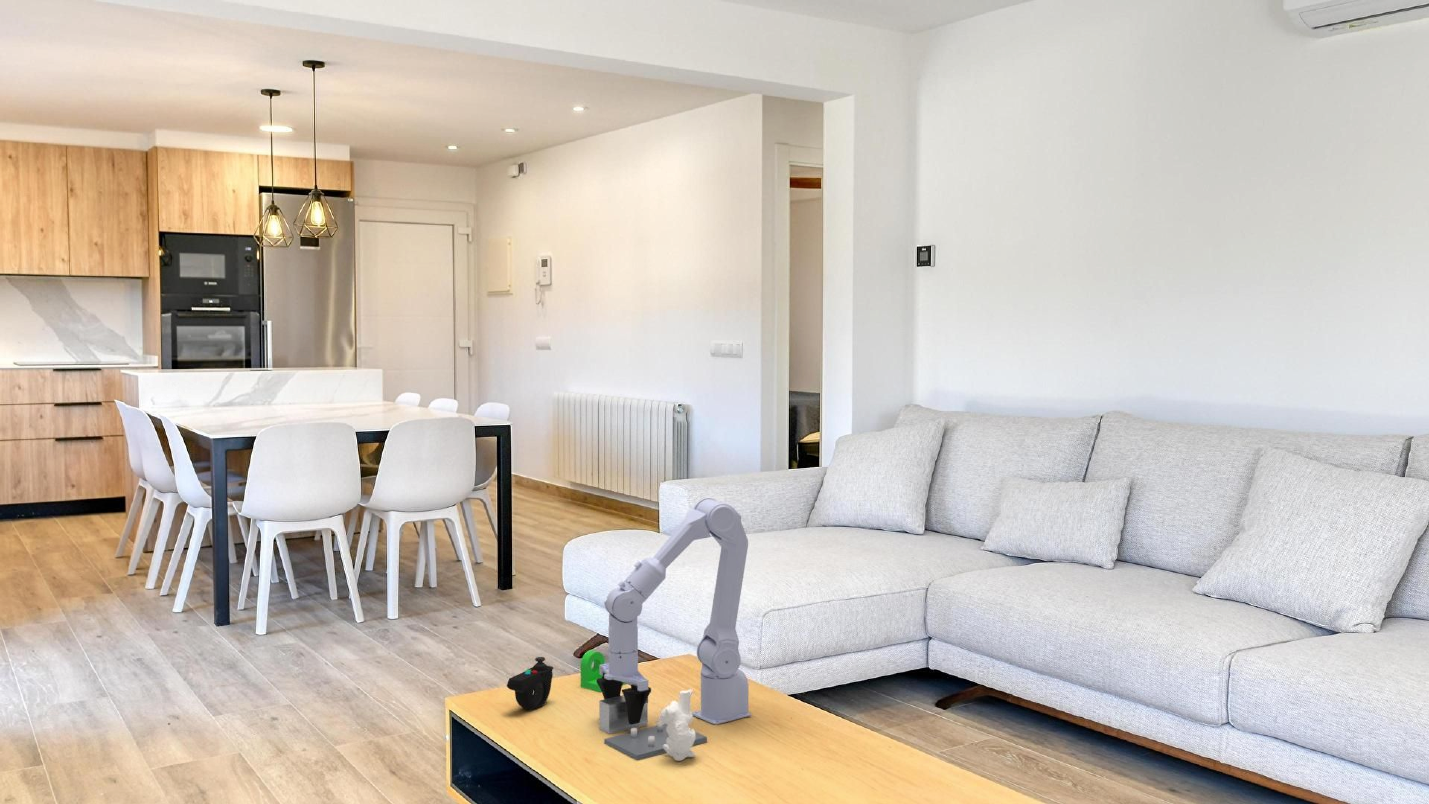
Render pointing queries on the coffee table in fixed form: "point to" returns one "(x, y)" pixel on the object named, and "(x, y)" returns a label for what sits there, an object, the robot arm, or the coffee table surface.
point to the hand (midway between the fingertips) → (623, 718)
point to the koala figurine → (679, 727)
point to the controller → (532, 685)
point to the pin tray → (645, 741)
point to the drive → (618, 715)
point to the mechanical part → (591, 670)
